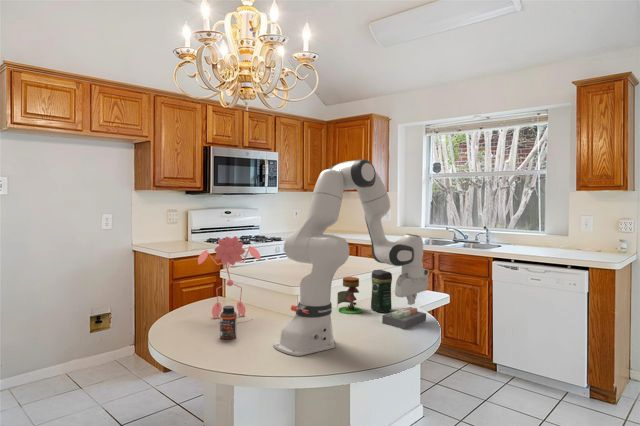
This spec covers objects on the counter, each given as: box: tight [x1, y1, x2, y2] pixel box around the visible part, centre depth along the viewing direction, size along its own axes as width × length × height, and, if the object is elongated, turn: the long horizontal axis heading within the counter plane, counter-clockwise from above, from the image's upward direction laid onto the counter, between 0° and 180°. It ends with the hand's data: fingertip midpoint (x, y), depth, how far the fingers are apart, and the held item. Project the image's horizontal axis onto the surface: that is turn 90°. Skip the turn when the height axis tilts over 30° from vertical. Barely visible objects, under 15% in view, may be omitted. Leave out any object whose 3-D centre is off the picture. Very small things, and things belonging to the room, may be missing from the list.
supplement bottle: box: [219, 305, 238, 340], centre depth 158 cm, size 6×6×11 cm
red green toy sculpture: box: [336, 276, 363, 315], centre depth 196 cm, size 12×13×15 cm
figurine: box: [197, 235, 261, 325], centre depth 179 cm, size 15×26×35 cm, turn 105°
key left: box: [391, 310, 404, 319], centre depth 176 cm, size 4×4×3 cm
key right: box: [405, 306, 418, 314], centre depth 183 cm, size 4×4×3 cm
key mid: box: [398, 308, 411, 316], centre depth 179 cm, size 4×4×3 cm
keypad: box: [381, 307, 427, 330], centre depth 179 cm, size 16×11×3 cm
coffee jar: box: [370, 269, 393, 313], centre depth 197 cm, size 10×8×19 cm
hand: (411, 304), depth 183 cm, fingers closed
